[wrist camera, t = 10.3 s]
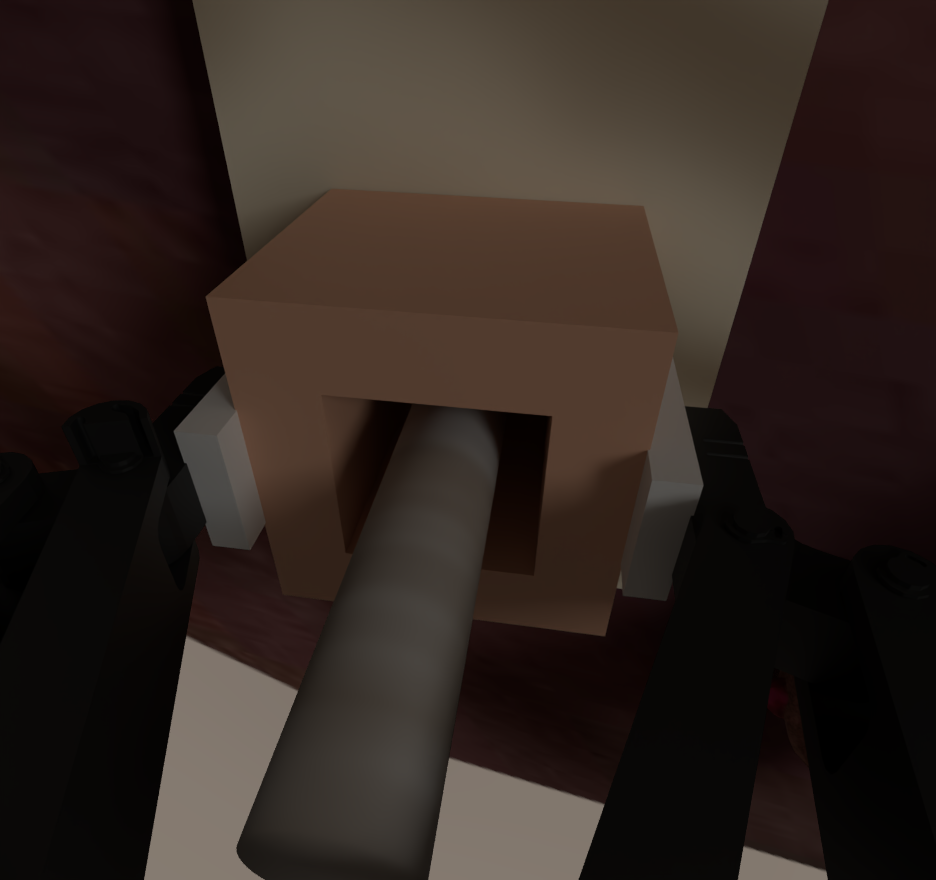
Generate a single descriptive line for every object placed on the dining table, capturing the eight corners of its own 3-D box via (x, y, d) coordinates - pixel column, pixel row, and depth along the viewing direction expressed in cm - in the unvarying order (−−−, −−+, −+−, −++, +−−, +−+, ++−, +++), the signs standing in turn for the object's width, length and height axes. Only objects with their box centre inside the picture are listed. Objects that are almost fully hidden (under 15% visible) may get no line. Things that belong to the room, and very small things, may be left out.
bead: (598, 457, 18) (604, 636, 13) (360, 434, 18) (283, 594, 14) (643, 205, 13) (679, 332, 9) (331, 188, 14) (205, 296, 9)
